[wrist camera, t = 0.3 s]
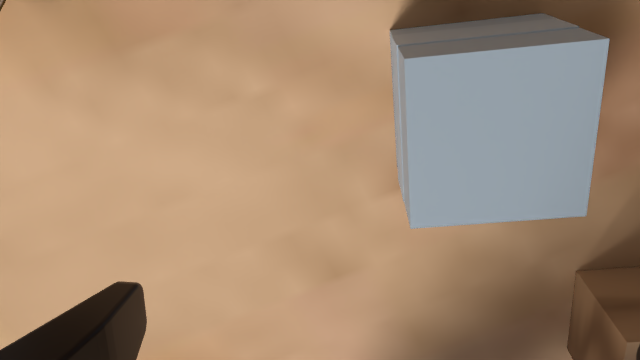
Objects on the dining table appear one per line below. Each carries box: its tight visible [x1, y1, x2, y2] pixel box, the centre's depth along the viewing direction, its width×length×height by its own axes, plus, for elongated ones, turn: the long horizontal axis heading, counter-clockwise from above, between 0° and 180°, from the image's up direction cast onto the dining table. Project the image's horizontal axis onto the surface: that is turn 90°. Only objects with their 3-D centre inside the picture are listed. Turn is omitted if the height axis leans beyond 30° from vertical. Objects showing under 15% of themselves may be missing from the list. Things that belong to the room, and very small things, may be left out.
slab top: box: [398, 28, 610, 229], centre depth 17 cm, size 6×6×2 cm
